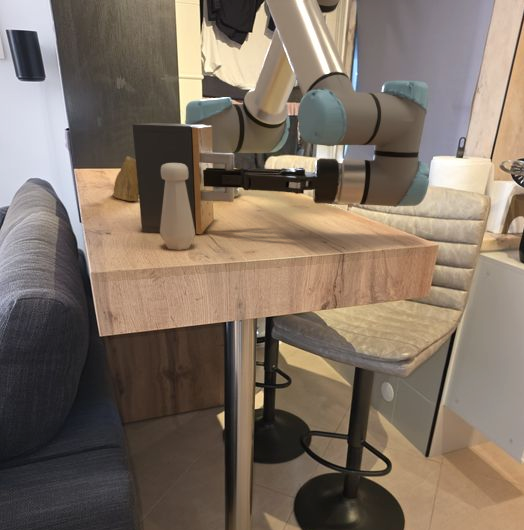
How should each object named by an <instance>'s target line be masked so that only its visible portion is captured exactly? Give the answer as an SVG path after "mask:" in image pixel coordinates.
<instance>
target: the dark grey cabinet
mask: <svg viewBox="0 0 524 530" xmlns="http://www.w3.org/2000/svg"><path fill="white" fill-rule="evenodd" d="M200 126H205V125H197V124H185V123H165V122H164V123H163V122H149V123H132V124H131V127H132V138H133V147H134V159H135V161H136V170H137V181H138V192H139V198H138V201H139V202H138V204H139V211H140V222H141V223H140V224H141V232H142V233H153V234H155V233H156V234H158V233H159V234H160V226H161V216H162V207H163V198H164V188H165V180H164V179H162V177H161V166H162V165H163V164H166V163H182V164H185V165H186V166H187V168H188V179H186V180H185V184H186V189H187V194H188V199H189V204H190V209H191V214H192V219H193V224H194V229H195V235H197V234H196V216H195V189H194V162H193V136H192V127H200Z"/></svg>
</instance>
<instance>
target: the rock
mask: <svg viewBox="0 0 524 530" xmlns="http://www.w3.org/2000/svg"><path fill="white" fill-rule="evenodd" d="M111 196H112V197H114V198H115V199H119V200H123V201H127V202H138V201H139V192H138V181H137V170H136V160H135V158H134V157H131V156H129V155H127V156H126V157H125V159H124V162H123V163H122V166H121V167H120V171H118V173H117V174H116V177H115V181H114V187H113V193H112V195H111Z"/></svg>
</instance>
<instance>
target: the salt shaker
mask: <svg viewBox="0 0 524 530" xmlns="http://www.w3.org/2000/svg"><path fill="white" fill-rule="evenodd" d="M161 177H162V179H164V180H165V188H164V198H163V207H162V216H161V226H160V233H159V234H160V237H161V239H162V241H163V242H164V244H165V246H166V248H167V249H169V250H176V251H181V250H187V249H190V248H191V246H192V243H193V241H194V239H195V236H196V234H195V229H194V224H193V219H192V214H191V209H190V204H189V199H188V194H187V189H186V184H185V180H186V179H188V168H187V166H186V165H185V164H182V163H166V164H163V165H162V166H161Z"/></svg>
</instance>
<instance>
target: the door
mask: <svg viewBox="0 0 524 530" xmlns="http://www.w3.org/2000/svg"><path fill="white" fill-rule="evenodd" d="M192 136H193V162H194V189H195V216H196V234H195V235H202V234H203V233H204V232H205V231H206V229H207V228H208V227H209V226H210V225H211V224H212V222H213V221H214V219H215V218H214V217H215V215H214V202H221V203H234V202H235V197H234V188H232V187H225V191H213V187H206V186H204V181H203V170H206V168H213V163H218V164H225V170H228V171H234V169H235V153H212V126H200V127H192Z"/></svg>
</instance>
